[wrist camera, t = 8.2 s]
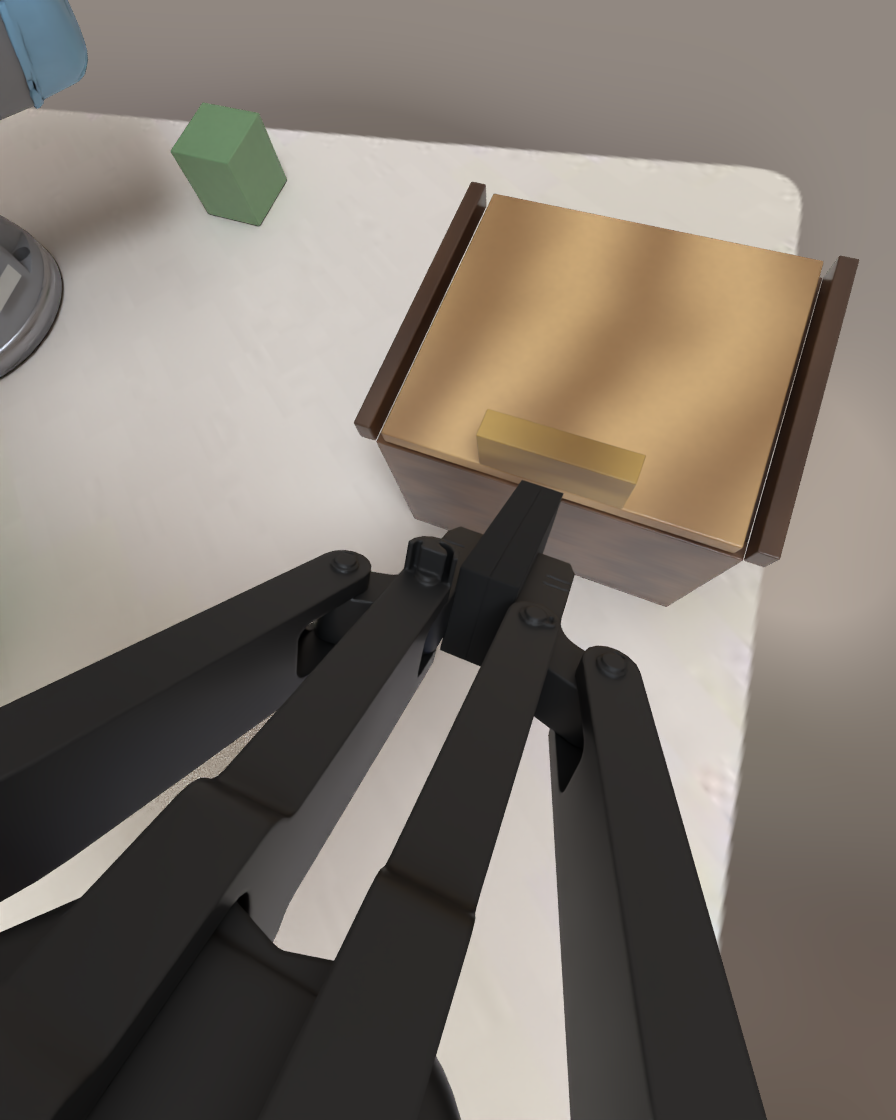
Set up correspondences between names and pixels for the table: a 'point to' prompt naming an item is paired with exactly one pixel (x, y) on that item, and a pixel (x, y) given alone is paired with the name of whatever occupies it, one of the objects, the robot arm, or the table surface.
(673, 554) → the walnut box
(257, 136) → the block
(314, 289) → the table surface
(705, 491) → the sliding lid
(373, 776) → the table surface
